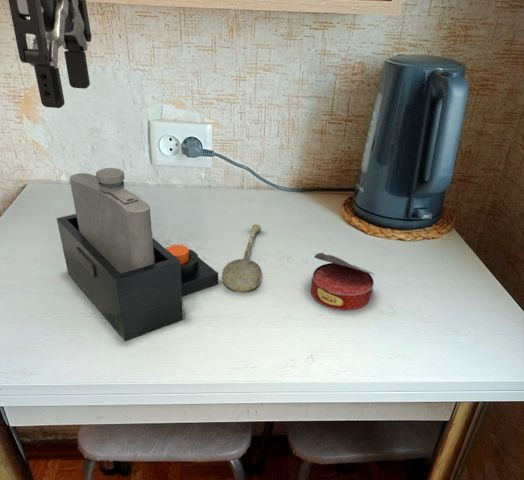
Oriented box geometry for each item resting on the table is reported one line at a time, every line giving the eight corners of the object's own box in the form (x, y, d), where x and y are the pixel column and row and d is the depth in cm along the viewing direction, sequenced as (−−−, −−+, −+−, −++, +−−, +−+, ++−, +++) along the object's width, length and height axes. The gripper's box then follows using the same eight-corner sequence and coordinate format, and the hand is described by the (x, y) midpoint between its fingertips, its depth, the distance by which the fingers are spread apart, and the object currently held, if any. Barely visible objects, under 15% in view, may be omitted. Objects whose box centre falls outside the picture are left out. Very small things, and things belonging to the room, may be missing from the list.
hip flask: (85, 283, 82) (61, 158, 69) (107, 275, 84) (87, 152, 72) (146, 327, 74) (132, 195, 61) (168, 316, 76) (158, 186, 64)
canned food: (306, 311, 87) (295, 253, 85) (358, 297, 90) (349, 240, 87) (334, 320, 77) (322, 255, 74) (392, 304, 79) (383, 240, 77)
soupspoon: (217, 292, 83) (257, 299, 83) (218, 275, 81) (259, 282, 81) (240, 228, 100) (273, 234, 99) (241, 213, 97) (275, 218, 97)
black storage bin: (123, 341, 71) (114, 280, 65) (66, 275, 83) (54, 218, 77) (183, 319, 76) (180, 260, 70) (121, 259, 88) (114, 205, 82)
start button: (173, 267, 80) (173, 257, 79) (162, 257, 83) (161, 248, 81) (193, 261, 82) (193, 251, 81) (181, 252, 84) (181, 242, 83)
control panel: (170, 300, 80) (168, 278, 77) (140, 272, 85) (138, 251, 83) (218, 284, 84) (218, 263, 81) (186, 258, 90) (186, 238, 87)
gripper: (26, -95, 52) (57, 80, 63) (-47, -103, 41) (6, 111, 52) (98, -90, 52) (118, 84, 62) (46, -96, 41) (80, 117, 51)
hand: (67, 96), depth 57 cm, fingers open, 8 cm apart
